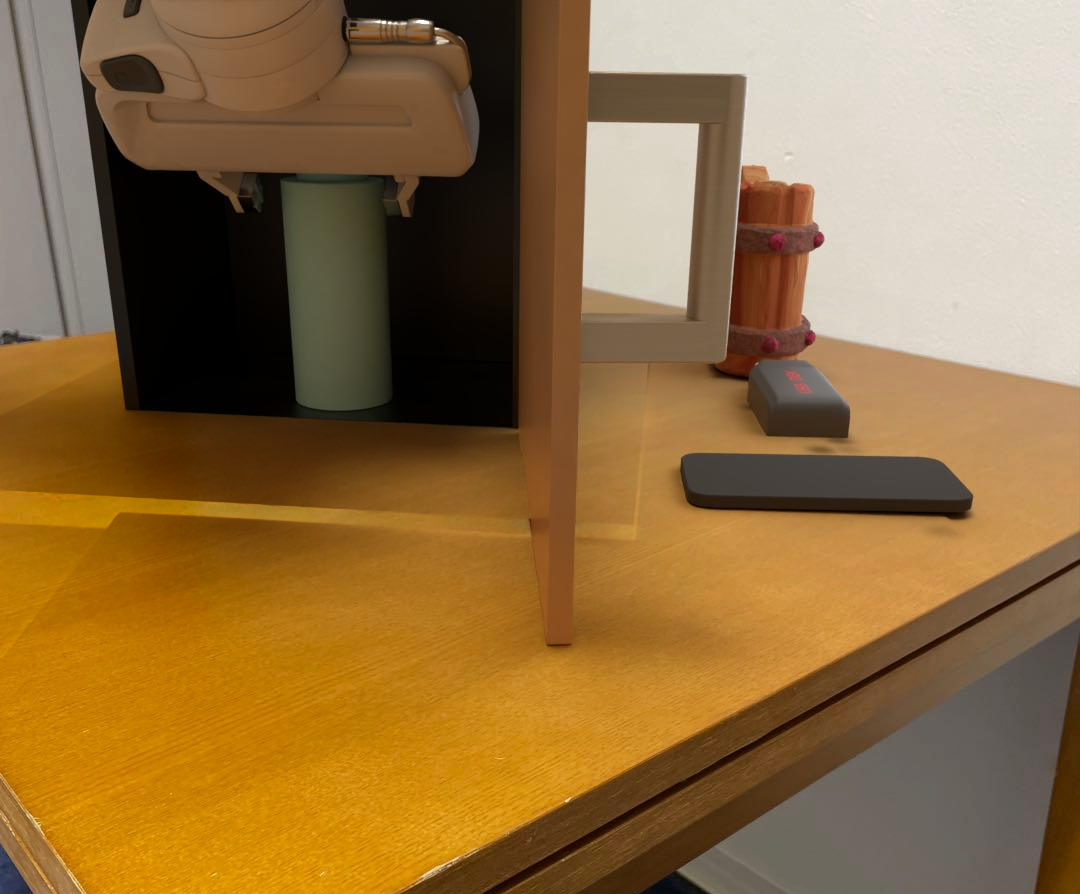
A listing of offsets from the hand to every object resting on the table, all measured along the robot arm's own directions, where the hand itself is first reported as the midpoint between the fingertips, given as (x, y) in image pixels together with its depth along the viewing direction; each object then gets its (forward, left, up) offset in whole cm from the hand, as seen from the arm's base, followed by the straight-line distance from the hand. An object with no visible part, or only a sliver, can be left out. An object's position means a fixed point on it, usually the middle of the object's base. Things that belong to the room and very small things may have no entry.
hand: (326, 206), depth 67 cm
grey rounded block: (+30, +7, -14) cm, 34 cm away
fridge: (0, +6, -14) cm, 15 cm away
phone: (+30, -9, -14) cm, 34 cm away
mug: (+28, +21, -14) cm, 37 cm away
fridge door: (+18, -16, -13) cm, 28 cm away
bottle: (0, +2, -13) cm, 13 cm away
